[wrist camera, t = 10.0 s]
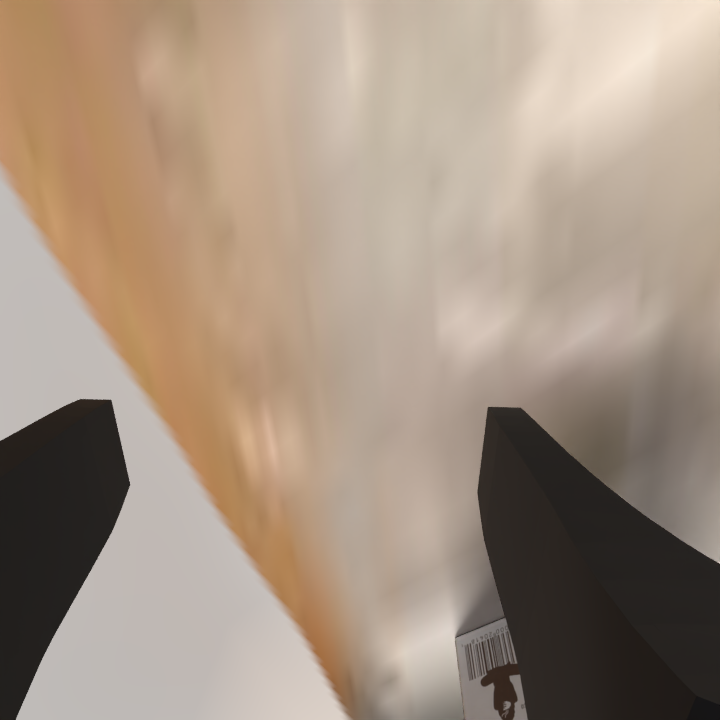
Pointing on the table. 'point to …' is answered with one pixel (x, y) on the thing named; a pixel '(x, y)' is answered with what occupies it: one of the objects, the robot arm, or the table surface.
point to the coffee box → (490, 674)
